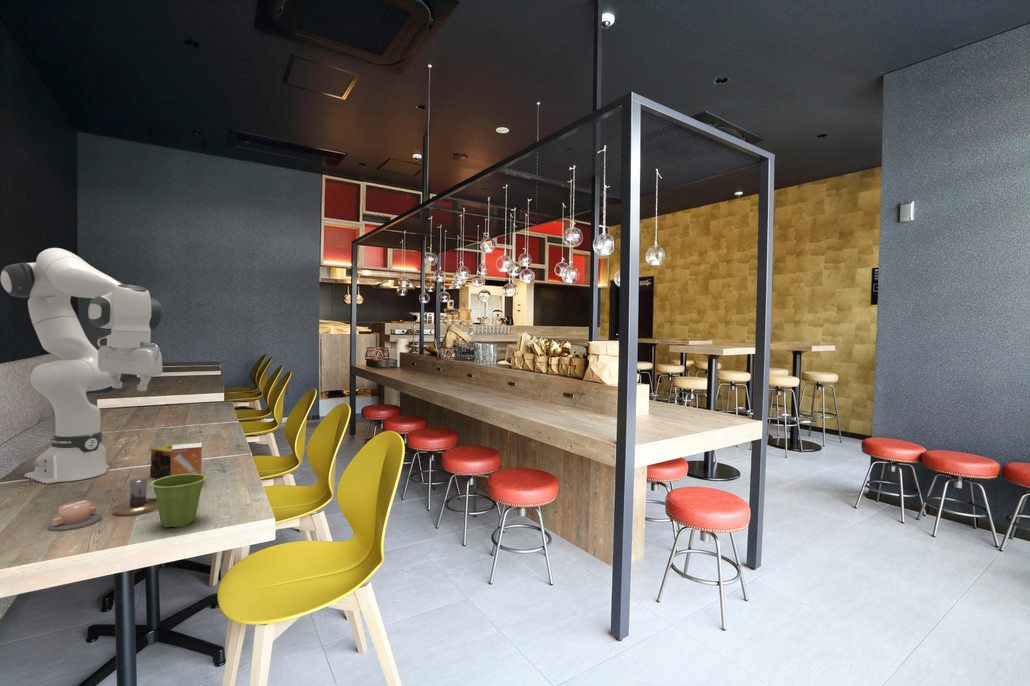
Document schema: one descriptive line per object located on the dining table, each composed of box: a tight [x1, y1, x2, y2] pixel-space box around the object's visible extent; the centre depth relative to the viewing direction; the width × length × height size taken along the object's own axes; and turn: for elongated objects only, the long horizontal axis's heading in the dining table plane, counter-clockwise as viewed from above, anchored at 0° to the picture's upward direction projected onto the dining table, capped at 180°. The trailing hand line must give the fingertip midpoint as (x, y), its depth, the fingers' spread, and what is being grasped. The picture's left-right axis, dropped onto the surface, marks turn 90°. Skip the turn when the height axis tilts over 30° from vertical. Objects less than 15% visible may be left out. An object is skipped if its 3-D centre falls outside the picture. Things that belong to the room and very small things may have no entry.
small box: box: [171, 442, 203, 476], centre depth 151 cm, size 8×6×13 cm
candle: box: [149, 442, 184, 480], centre depth 161 cm, size 10×10×10 cm
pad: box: [47, 512, 102, 532], centre depth 121 cm, size 10×10×1 cm
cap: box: [51, 500, 97, 526], centre depth 121 cm, size 9×6×4 cm, turn 166°
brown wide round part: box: [111, 477, 158, 517], centre depth 132 cm, size 11×11×8 cm
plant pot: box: [150, 473, 207, 528], centre depth 123 cm, size 12×12×11 cm
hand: (129, 389), depth 136 cm, fingers open, 8 cm apart
